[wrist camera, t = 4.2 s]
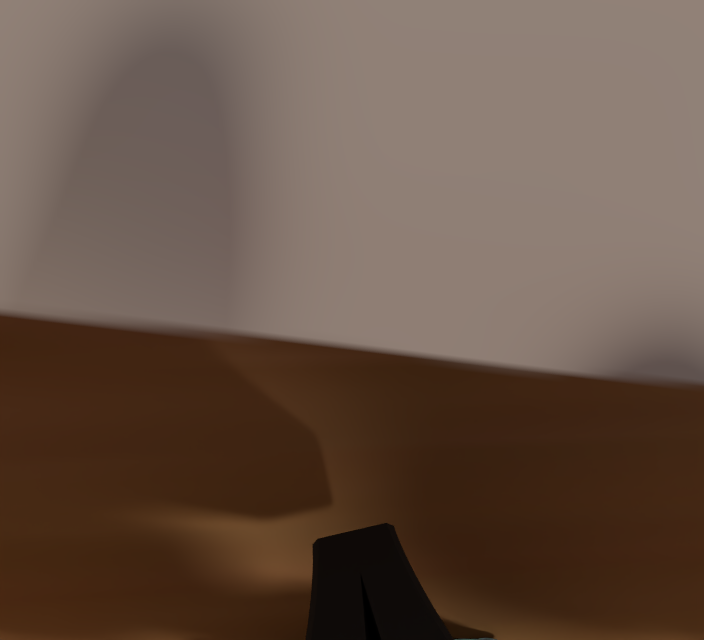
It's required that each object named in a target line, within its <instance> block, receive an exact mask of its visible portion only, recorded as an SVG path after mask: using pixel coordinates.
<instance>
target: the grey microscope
mask: <svg viewBox="0 0 704 640" xmlns="http://www.w3.org/2000/svg"><path fill="white" fill-rule="evenodd" d="M454 640H496V639H492V638H478V639H454Z"/></svg>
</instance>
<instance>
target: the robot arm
mask: <svg viewBox="0 0 704 640" xmlns="http://www.w3.org/2000/svg"><path fill="white" fill-rule="evenodd" d="M306 640H454V639H453V638H452V636H451V634H450V633H449V631H448V630H447V628H446V626H445V625H444V623H443V622H442V620H441V619H440V617H439V615H438V614H437V612H436V611H435V609H434V607H433V605H432V604H431V602H430V600H429V599H428V597H427V595H426V593H425V592H424V590H423V588H422V586H421V584H420V582H419V581H418V579H417V577H416V575H415V573H414V571H413V569H412V567H411V565H410V563H409V561H408V559H407V557H406V555H405V553H404V551H403V548H402V546H401V544H400V541H399V539H398V537H397V534H396V531H395V528H394V526H393V525H391V524H388V523H384V524H380V525H375V526H371V527H367V528H362V529H358V530H354V531H349V532H345V533H341V534H337V535H332V536H328V537H324V538H319V539H317V540H316V541H315V543H314V544H313V576H312V591H311V601H310V610H309V619H308V627H307V633H306Z"/></svg>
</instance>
